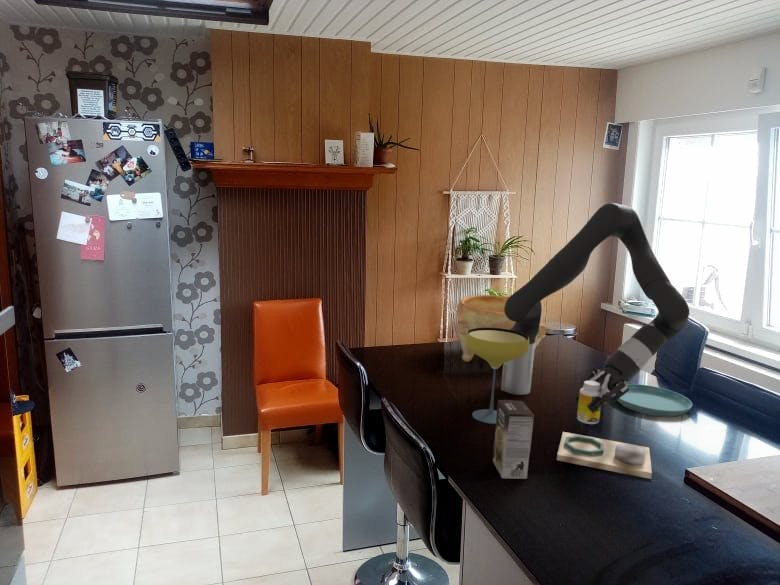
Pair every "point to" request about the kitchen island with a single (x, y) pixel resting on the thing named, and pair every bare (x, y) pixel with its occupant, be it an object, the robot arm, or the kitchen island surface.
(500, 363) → the cocktail glass
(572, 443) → the carrier board
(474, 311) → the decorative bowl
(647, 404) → the saucer
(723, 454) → the kitchen island surface
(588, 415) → the supplement bottle
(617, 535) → the kitchen island surface
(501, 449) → the coffee box
